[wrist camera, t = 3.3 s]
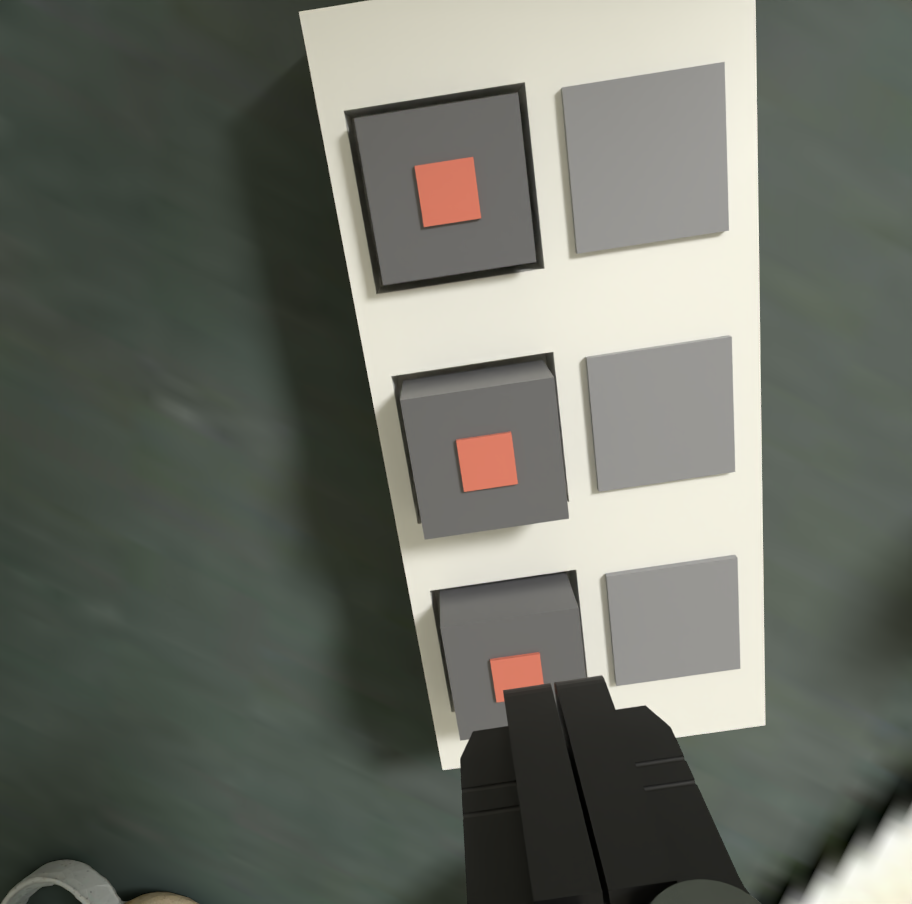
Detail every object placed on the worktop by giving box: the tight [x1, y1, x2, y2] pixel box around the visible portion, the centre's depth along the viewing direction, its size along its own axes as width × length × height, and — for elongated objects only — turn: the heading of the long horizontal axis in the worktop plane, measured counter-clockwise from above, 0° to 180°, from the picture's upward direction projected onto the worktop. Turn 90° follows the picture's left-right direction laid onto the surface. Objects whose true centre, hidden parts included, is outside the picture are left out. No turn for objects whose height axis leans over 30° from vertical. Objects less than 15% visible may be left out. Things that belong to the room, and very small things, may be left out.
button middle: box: [400, 360, 569, 540], centre depth 23 cm, size 4×4×2 cm
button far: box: [440, 572, 586, 741], centre depth 25 cm, size 4×4×2 cm
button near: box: [354, 93, 536, 285], centre depth 22 cm, size 4×4×2 cm
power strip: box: [299, 0, 765, 770], centre depth 25 cm, size 27×12×4 cm, turn 8°
